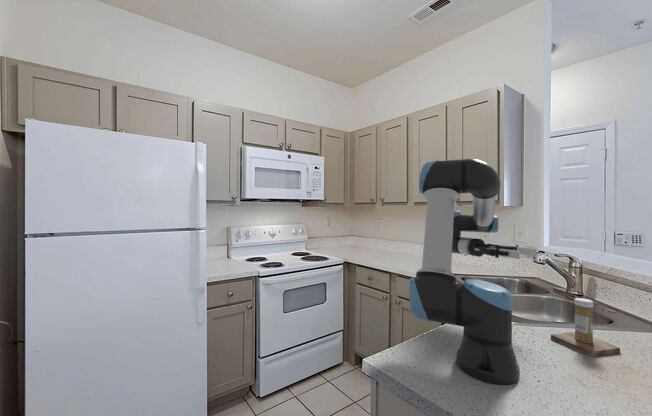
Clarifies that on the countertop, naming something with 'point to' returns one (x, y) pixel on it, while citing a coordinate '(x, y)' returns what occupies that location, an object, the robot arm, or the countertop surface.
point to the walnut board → (585, 345)
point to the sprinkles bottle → (584, 320)
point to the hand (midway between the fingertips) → (528, 253)
